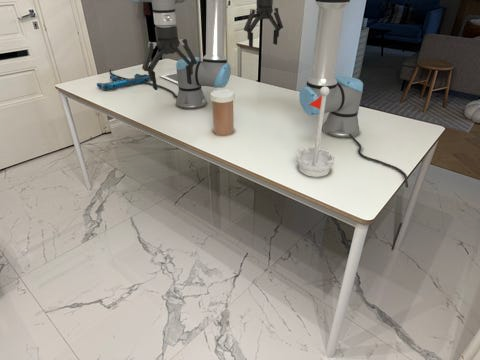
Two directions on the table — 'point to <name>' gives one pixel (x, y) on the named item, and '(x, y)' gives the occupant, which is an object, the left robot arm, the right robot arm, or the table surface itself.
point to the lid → (222, 96)
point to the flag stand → (316, 146)
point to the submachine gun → (122, 81)
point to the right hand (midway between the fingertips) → (263, 45)
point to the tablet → (171, 77)
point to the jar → (223, 118)
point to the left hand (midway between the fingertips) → (172, 86)
